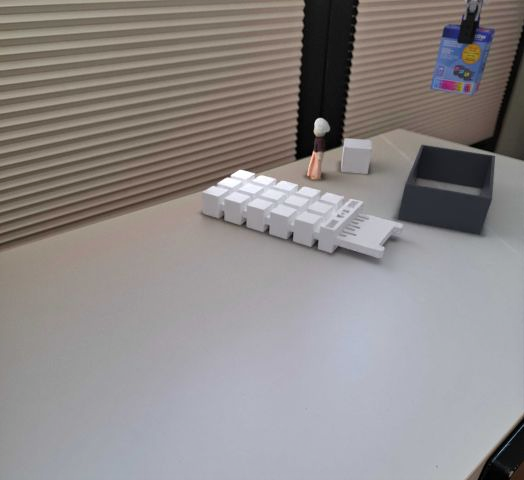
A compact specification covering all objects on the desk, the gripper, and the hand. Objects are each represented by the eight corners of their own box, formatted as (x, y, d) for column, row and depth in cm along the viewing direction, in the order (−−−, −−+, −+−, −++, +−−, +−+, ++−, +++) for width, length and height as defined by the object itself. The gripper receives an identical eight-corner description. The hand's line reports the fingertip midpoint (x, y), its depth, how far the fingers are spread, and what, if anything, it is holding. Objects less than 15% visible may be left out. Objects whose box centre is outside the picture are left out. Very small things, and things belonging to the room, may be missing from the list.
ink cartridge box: (428, 89, 114) (445, 13, 105) (435, 84, 118) (452, 10, 109) (473, 96, 111) (494, 17, 101) (478, 91, 114) (500, 15, 105)
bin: (413, 178, 114) (421, 144, 109) (483, 190, 110) (495, 155, 106) (396, 221, 98) (405, 184, 93) (478, 237, 94) (492, 199, 89)
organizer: (240, 169, 102) (407, 213, 90) (240, 192, 105) (402, 237, 93) (202, 192, 94) (382, 244, 81) (203, 216, 97) (376, 270, 84)
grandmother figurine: (303, 172, 115) (309, 113, 106) (320, 172, 115) (326, 113, 107) (310, 186, 109) (315, 124, 101) (327, 186, 109) (334, 124, 101)
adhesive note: (366, 166, 119) (371, 140, 115) (367, 176, 114) (372, 149, 110) (340, 164, 119) (344, 137, 115) (340, 174, 115) (344, 146, 111)
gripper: (513, -69, 89) (481, 49, 101) (515, -70, 101) (486, 36, 113) (469, -70, 91) (443, 46, 103) (476, -71, 103) (452, 33, 115)
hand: (466, 39), depth 108 cm, fingers closed on ink cartridge box, 5 cm apart
